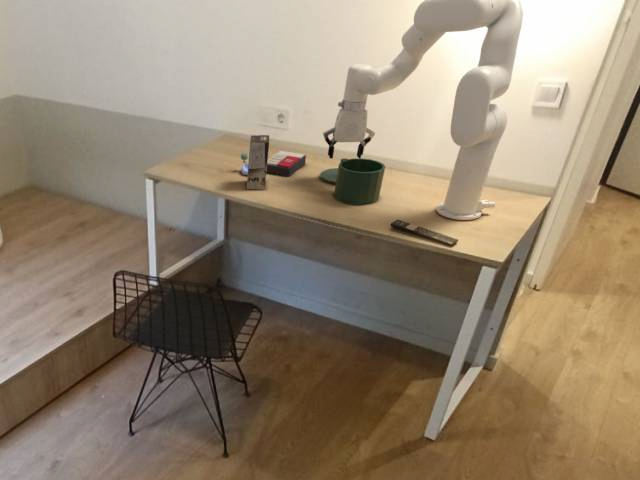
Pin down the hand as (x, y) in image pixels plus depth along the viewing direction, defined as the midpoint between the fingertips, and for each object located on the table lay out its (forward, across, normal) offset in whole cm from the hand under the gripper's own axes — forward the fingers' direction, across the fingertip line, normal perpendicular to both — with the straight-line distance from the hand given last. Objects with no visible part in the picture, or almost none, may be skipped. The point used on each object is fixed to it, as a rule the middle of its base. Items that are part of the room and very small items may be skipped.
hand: (344, 157), depth 217 cm
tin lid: (+7, 0, 0) cm, 7 cm away
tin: (+7, +1, -18) cm, 20 cm away
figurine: (+8, -32, +8) cm, 34 cm away
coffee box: (+8, -31, -5) cm, 32 cm away
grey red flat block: (+8, -19, +12) cm, 24 cm away
